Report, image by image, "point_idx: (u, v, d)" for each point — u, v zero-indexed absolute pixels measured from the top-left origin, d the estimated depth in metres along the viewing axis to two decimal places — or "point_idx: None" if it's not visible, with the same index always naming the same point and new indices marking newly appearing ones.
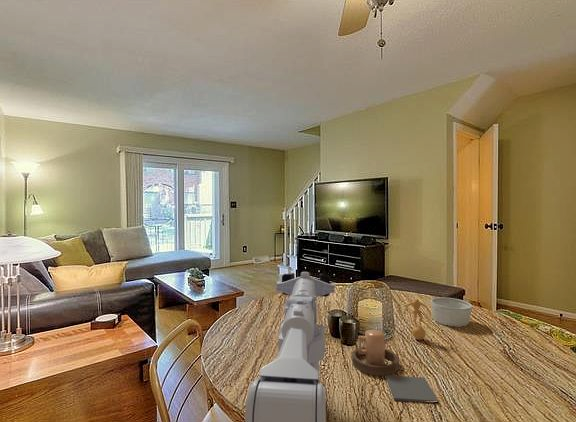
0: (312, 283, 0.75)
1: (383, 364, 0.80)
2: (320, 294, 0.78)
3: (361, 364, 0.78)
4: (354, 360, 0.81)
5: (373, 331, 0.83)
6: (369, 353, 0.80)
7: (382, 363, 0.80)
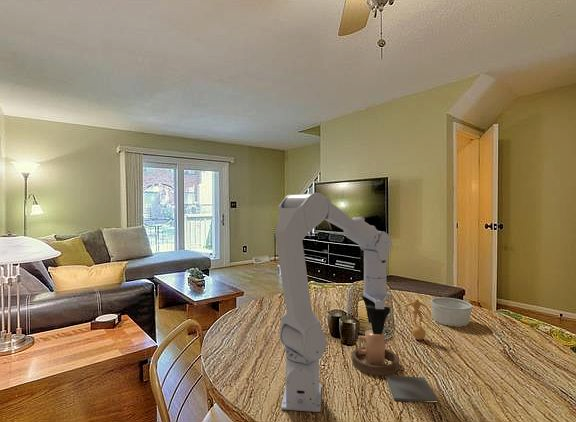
0: (384, 286, 0.80)
1: (383, 364, 0.80)
2: None
3: (361, 364, 0.78)
4: (354, 360, 0.81)
5: None
6: (369, 353, 0.80)
7: (382, 363, 0.80)
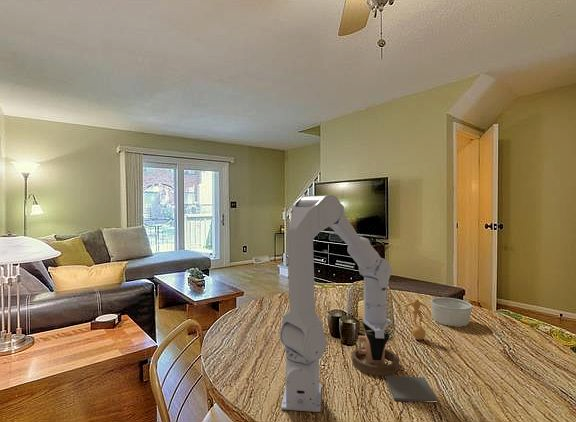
0: (384, 313, 0.80)
1: (383, 364, 0.80)
2: None
3: (361, 364, 0.78)
4: (354, 360, 0.81)
5: None
6: (369, 353, 0.80)
7: (382, 363, 0.80)
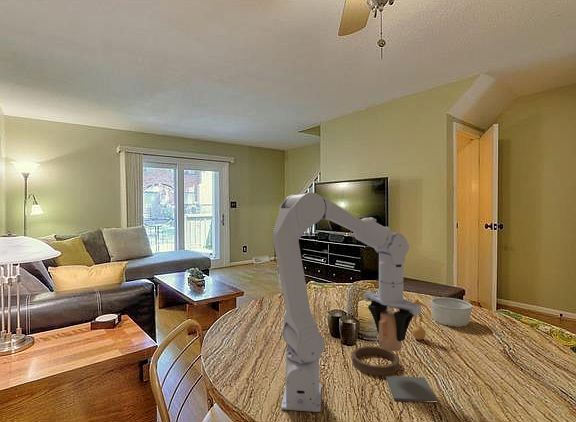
0: None
1: None
2: None
3: (361, 364, 0.78)
4: (354, 360, 0.81)
5: (385, 312, 0.77)
6: (393, 336, 0.74)
7: None
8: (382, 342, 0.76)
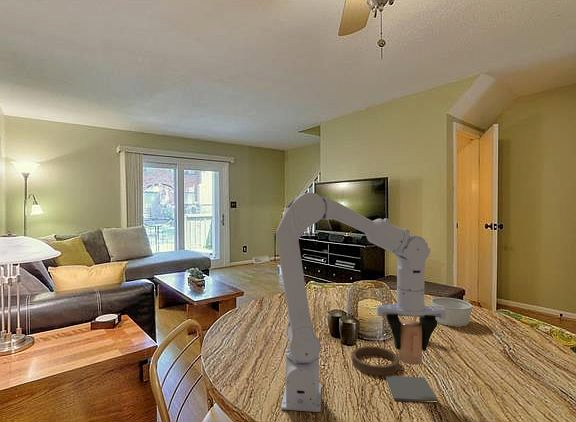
0: None
1: None
2: None
3: (361, 364, 0.78)
4: (354, 360, 0.81)
5: (404, 323, 0.70)
6: (421, 347, 0.68)
7: None
8: (409, 358, 0.68)
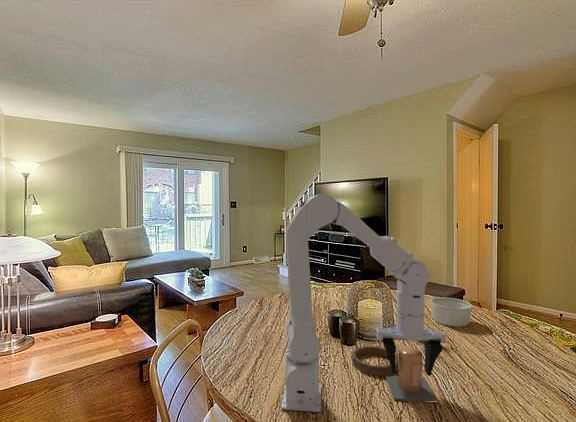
0: None
1: None
2: None
3: (361, 364, 0.78)
4: (354, 360, 0.81)
5: (404, 351, 0.70)
6: (421, 376, 0.68)
7: None
8: (409, 386, 0.68)
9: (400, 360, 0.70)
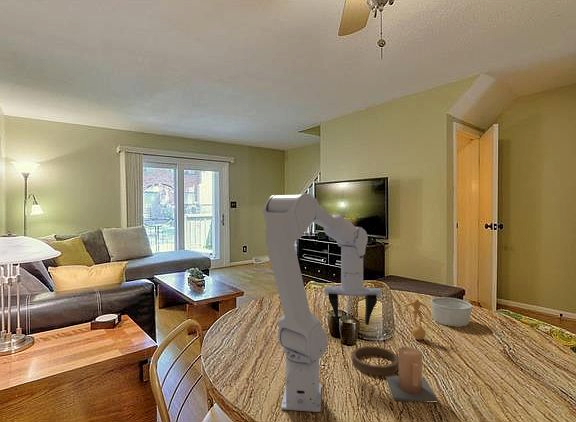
0: None
1: None
2: None
3: (361, 364, 0.78)
4: (354, 360, 0.81)
5: (404, 351, 0.70)
6: (421, 376, 0.68)
7: None
8: (409, 386, 0.68)
9: (400, 360, 0.70)
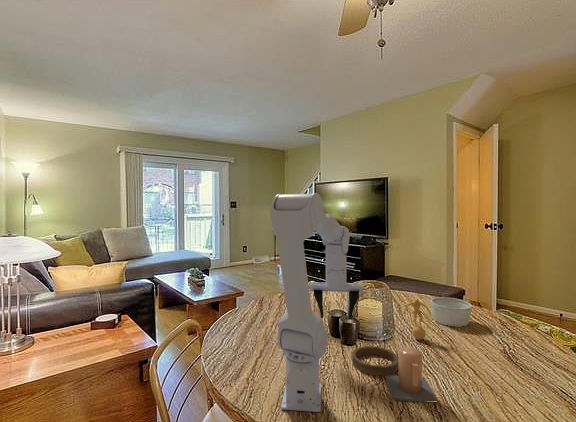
0: None
1: None
2: None
3: (361, 364, 0.78)
4: (354, 360, 0.81)
5: (404, 351, 0.70)
6: (421, 376, 0.68)
7: None
8: (409, 386, 0.68)
9: (400, 360, 0.70)
